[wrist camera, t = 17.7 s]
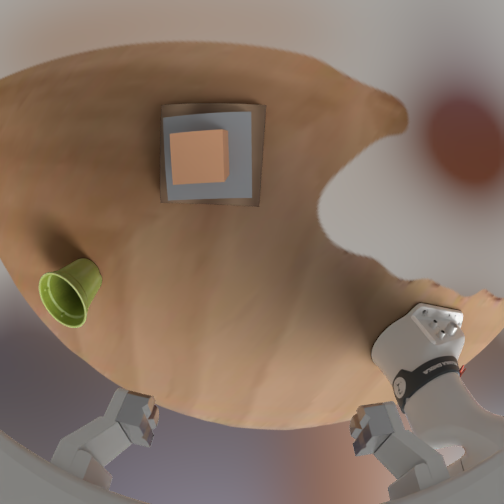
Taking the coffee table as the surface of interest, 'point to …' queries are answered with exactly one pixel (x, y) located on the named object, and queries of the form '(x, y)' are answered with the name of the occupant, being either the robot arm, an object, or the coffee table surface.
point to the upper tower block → (239, 155)
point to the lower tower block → (256, 139)
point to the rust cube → (199, 156)
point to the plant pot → (70, 291)
